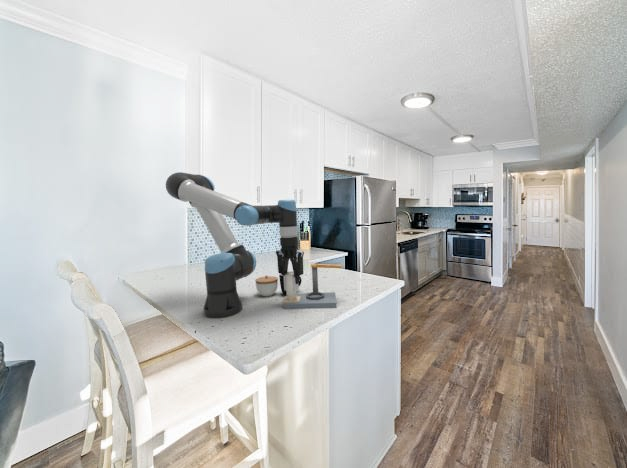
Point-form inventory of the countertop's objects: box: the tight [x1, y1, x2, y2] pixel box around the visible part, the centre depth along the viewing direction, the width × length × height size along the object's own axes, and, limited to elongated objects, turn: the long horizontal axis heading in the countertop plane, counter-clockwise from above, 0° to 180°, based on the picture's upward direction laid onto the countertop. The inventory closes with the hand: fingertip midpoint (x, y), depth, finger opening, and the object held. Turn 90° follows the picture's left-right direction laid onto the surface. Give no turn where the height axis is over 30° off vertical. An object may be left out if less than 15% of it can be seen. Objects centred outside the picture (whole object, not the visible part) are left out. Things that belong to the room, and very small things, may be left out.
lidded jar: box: [255, 274, 279, 297], centre depth 134 cm, size 11×11×9 cm
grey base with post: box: [282, 267, 337, 310], centre depth 120 cm, size 22×14×14 cm, turn 87°
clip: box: [310, 263, 343, 269], centre depth 123 cm, size 14×3×1 cm, turn 69°
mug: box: [278, 270, 302, 297], centre depth 134 cm, size 12×9×10 cm
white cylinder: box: [285, 273, 298, 301], centre depth 118 cm, size 4×4×11 cm
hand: (291, 290), depth 118 cm, fingers closed on white cylinder, 4 cm apart
